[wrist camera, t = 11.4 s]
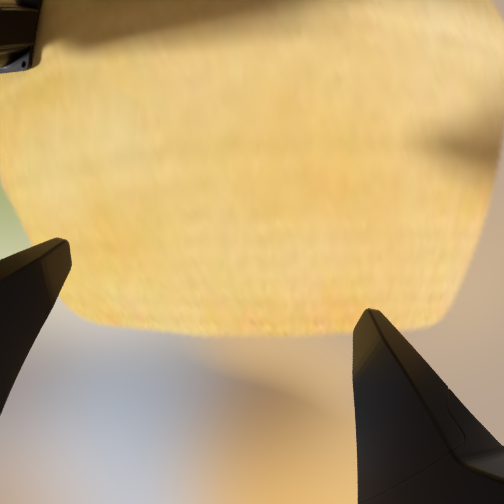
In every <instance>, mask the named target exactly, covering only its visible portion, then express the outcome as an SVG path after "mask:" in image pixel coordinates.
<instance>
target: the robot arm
mask: <svg viewBox="0 0 504 504" xmlns="http://www.w3.org/2000/svg"><path fill="white" fill-rule="evenodd" d="M41 3H42V0H0V74H1V73H9V72H18V71H26V70H29V69H30V67H31V64H32V57H33V49H34V42H35V35H36V29H37V23H38V18H39V13H40V8H41ZM25 62H26V66H25ZM71 266H72V261H71V253H70V245H69V242H68V241H67V240H65V239H62V238H54V239H51V240H48V241H46V242H43V243H41V244H38V245H35V246H33V247H30V248H28V249H26V250H23V251H20V252H18V253H16V254H13V255H11V256H9V257H6V258H4V259H1V260H0V415H1V413H2V410H3V408H4V405H5V403H6V400H7V398H8V396H9V393H10V391H11V389H12V387H13V384H14V382H15V380H16V378H17V376H18V373H19V371H20V369H21V367H22V365H23V363H24V361H25V359H26V357H27V355H28V353H29V351H30V349H31V347H32V345H33V343H34V341H35V339H36V337H37V336H38V334H39V332H40V330H41V328H42V326H43V324H44V323H45V321H46V319H47V317H48V315H49V313H50V312H51V310H52V308H53V306H54V304H55V302H56V299H57V297H58V295H59V293H60V291H61V289H62V286H63V284H64V282H65V280H66V278H67V276H68V274H69V272H70V270H71ZM352 374H353V392H354V406H355V420H356V439H357V440H356V441H357V469H358V470H357V471H358V504H504V446H502V445H501V444H500V443H499V442H498V441H497V440H496V439H495V438H494V437H493V436H492V435H491V434H490V432H489V431H488V430H487V429H486V428H485V427H484V426H483V425H482V424H481V423H480V422H479V421H478V420H477V419H476V418H475V417H474V416H473V415H472V414H471V413H470V412H469V410H468V409H467V408H466V407H465V406H464V405H463V404H462V403H461V401H460V400H459V399H458V398H457V397H456V396H455V395H454V393H453V392H452V391H451V390H450V389H448V386H447V385H446V384H445V383H444V382H443V380H442V379H441V378H440V377H439V376H438V375H437V374H436V372H435V371H434V370H433V369H432V368H431V367H430V366H429V364H428V363H427V362H426V361H425V360H424V359H423V358H422V357H421V355H420V354H419V353H418V352H417V351H416V350H415V349H414V348H413V346H412V345H411V344H410V343H409V342H408V341H407V340H406V339H405V338H404V337H403V335H402V334H401V333H400V332H399V331H398V330H397V329H396V328H395V327H394V326H393V325H392V323H391V322H390V321H389V320H388V319H387V318H386V317H385V316H384V315H383V314H382V313H381V312H380V311H379V310H375V309H370V308H368V309H366V310H365V311H364V312H363V314H362V316H361V317H360V319H359V321H358V323H357V324H356V326H355V328H354V331H353V371H352Z"/></svg>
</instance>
